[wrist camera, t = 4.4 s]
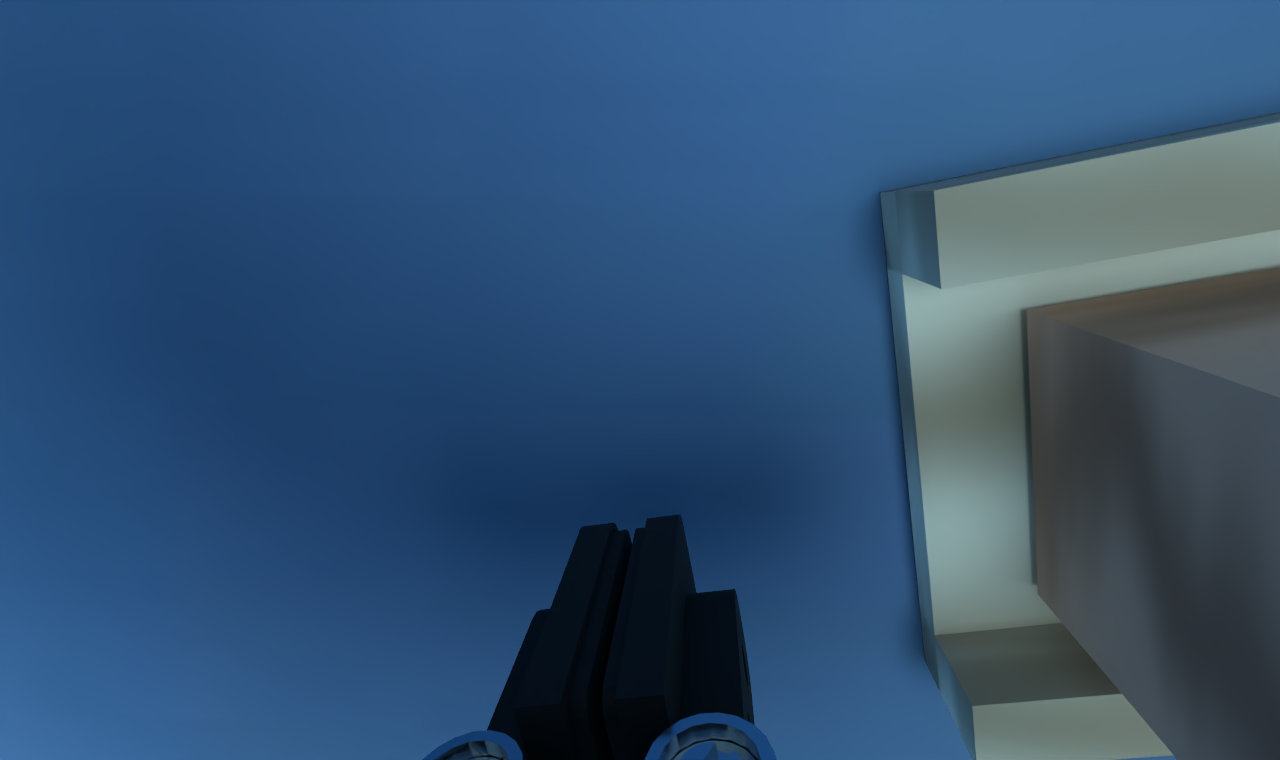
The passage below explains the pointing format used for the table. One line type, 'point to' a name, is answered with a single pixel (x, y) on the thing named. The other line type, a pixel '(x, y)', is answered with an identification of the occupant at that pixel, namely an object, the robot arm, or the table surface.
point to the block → (1167, 501)
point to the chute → (1000, 396)
